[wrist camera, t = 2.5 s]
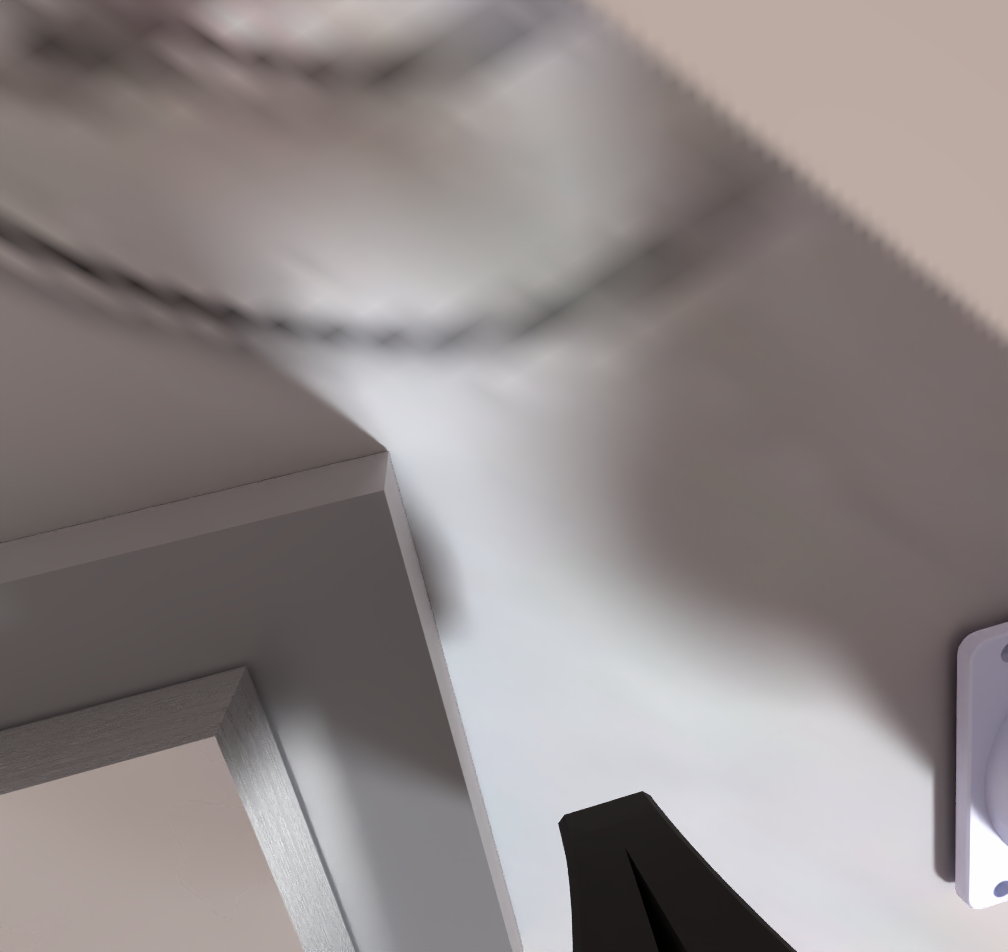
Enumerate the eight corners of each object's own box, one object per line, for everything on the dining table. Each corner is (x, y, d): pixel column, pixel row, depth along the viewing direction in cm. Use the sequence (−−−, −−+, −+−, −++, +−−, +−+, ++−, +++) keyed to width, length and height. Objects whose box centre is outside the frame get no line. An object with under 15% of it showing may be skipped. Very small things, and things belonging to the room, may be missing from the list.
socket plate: (388, 451, 11) (384, 489, 8) (521, 940, 14) (544, 1068, 12) (-358, 628, 10) (-608, 731, 7) (-20, 1114, 13) (-114, 1292, 11)
